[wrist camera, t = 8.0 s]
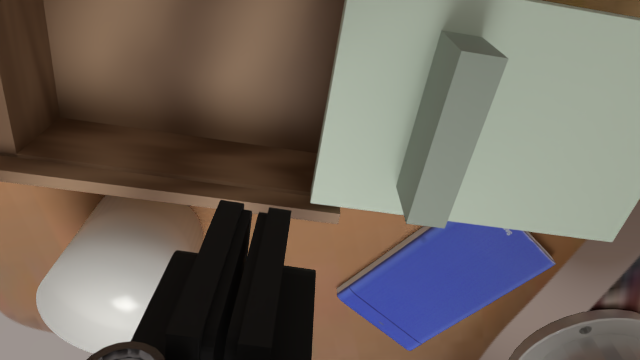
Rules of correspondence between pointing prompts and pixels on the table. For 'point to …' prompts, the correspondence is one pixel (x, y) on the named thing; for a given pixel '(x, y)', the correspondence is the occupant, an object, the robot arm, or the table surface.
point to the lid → (484, 115)
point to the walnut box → (169, 99)
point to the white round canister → (114, 269)
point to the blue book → (442, 278)
